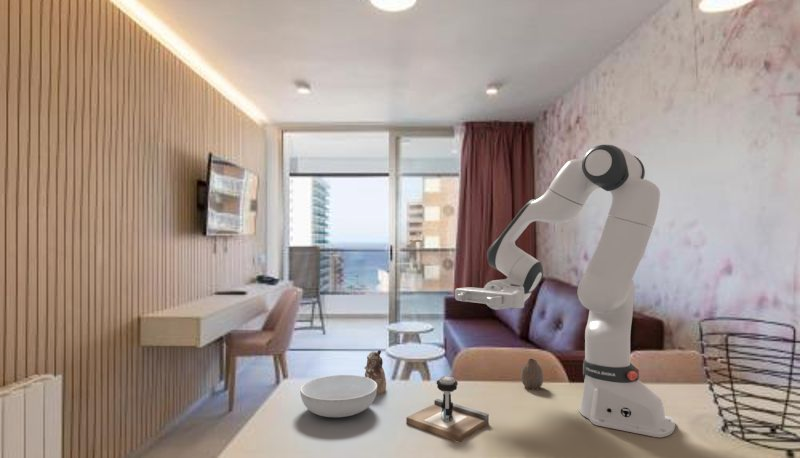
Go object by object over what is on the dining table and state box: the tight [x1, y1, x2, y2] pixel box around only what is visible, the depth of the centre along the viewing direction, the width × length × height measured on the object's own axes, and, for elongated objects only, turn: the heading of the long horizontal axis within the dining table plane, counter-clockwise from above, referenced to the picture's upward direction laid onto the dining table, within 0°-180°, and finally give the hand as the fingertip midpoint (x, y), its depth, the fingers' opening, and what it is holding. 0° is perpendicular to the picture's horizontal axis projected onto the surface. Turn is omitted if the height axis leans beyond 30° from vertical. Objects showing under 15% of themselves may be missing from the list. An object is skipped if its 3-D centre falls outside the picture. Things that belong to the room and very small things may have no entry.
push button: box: [436, 375, 459, 422], centre depth 112 cm, size 7×5×10 cm
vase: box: [520, 358, 545, 391], centre depth 141 cm, size 7×7×9 cm
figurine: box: [364, 349, 387, 395], centre depth 138 cm, size 7×7×12 cm
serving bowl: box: [299, 374, 377, 418], centre depth 121 cm, size 21×21×7 cm
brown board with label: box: [405, 398, 490, 443], centre depth 113 cm, size 16×14×2 cm
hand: (473, 299), depth 125 cm, fingers open, 8 cm apart
